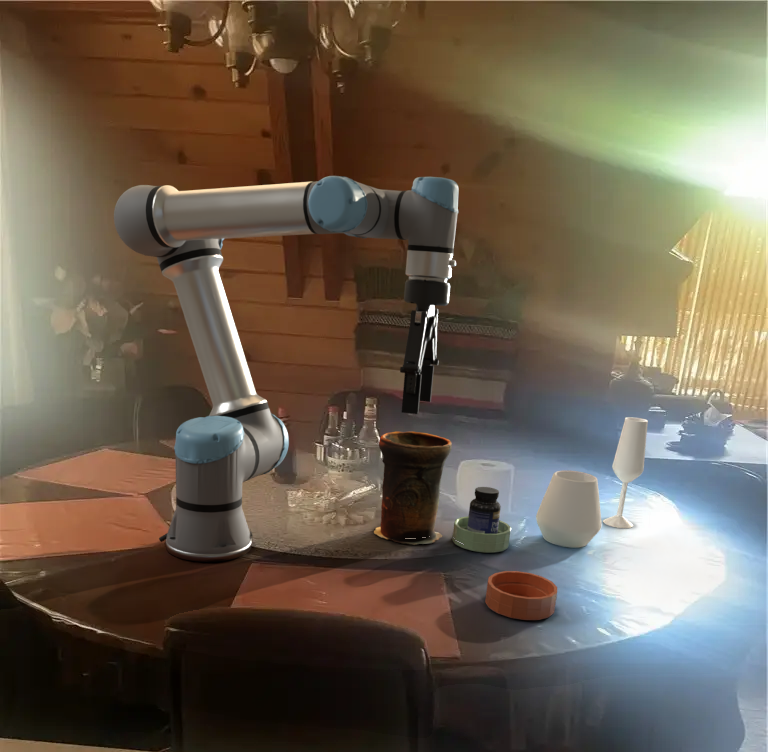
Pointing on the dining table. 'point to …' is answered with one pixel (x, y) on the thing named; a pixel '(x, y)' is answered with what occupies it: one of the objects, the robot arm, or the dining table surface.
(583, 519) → the cup
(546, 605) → the front bowl
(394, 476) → the vessel
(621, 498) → the champagne flute
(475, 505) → the pill bottle
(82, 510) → the dining table surface
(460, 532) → the back bowl
